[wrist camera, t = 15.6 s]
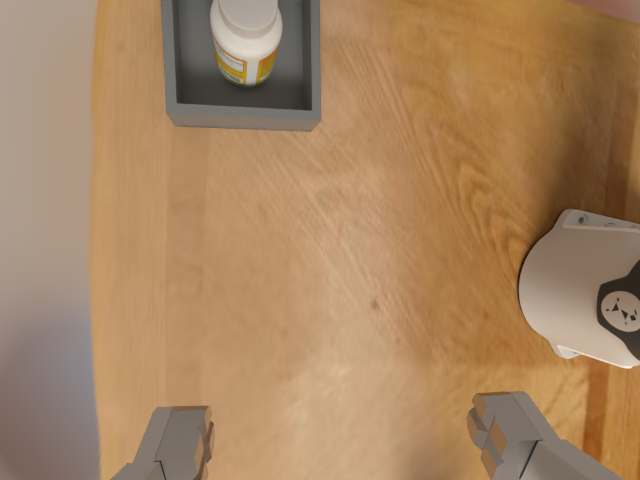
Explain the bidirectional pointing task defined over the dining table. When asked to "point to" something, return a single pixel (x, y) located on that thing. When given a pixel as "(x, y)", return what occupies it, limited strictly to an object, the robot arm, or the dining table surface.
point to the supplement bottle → (246, 39)
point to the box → (229, 99)
